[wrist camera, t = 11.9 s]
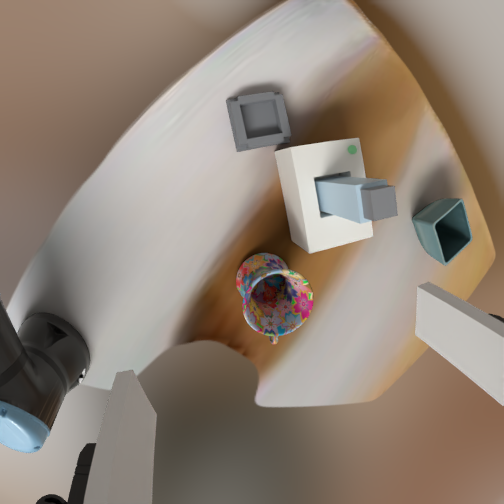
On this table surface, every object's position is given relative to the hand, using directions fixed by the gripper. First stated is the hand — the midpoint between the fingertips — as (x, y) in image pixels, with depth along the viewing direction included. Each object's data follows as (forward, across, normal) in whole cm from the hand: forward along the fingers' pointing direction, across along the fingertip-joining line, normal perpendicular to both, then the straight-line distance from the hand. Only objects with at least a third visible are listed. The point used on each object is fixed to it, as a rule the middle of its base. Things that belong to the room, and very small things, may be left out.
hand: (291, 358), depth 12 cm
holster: (+34, +9, +14) cm, 38 cm away
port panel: (+34, +15, +2) cm, 38 cm away
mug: (+35, +4, -11) cm, 37 cm away
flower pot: (+35, +37, -8) cm, 51 cm away
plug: (+30, +15, +2) cm, 34 cm away
